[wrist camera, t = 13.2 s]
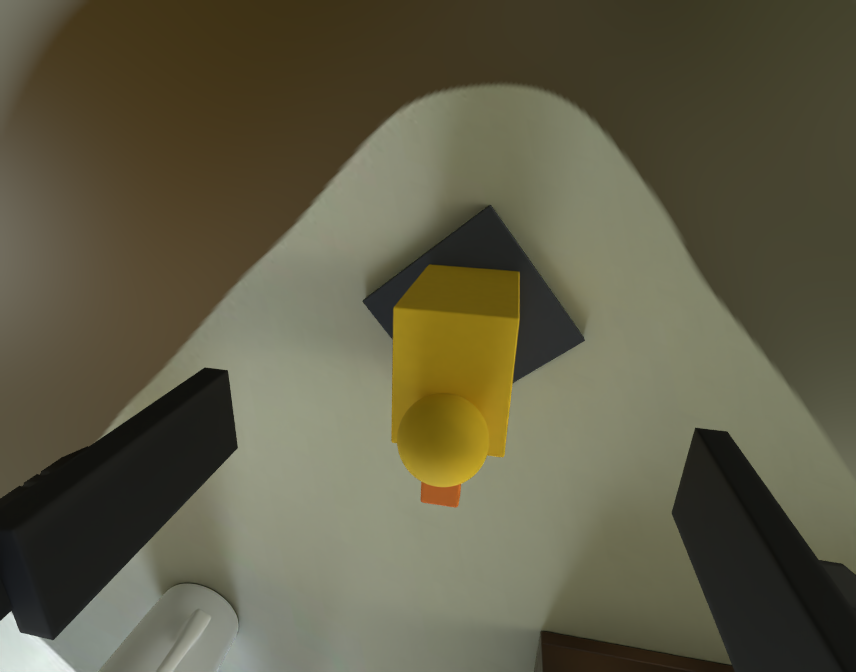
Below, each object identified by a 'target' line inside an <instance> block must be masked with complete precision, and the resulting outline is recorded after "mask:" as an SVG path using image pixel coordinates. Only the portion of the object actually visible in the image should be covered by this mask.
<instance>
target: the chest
mask: <svg viewBox="0 0 856 672" xmlns="http://www.w3.org/2000/svg"><path fill="white" fill-rule="evenodd" d="M534 672H735V670H734V668H733V666H729V665H724V664H718V663H713V662H707V661H702V660H697V659H691V658H686V657H680V656H675V655H670V654H664V653H659V652H653V651H648V650H642V649H637V648H632V647H626V646H621V645H615V644H610V643H605V642H599V641H594V640H588V639H583V638H577V637H572V636H567V635H561V634H556V633H550V632H545V631H541V633H540V639H539V645H538V651H537V656H536V662H535V668H534Z"/></svg>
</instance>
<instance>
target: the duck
mask: <svg viewBox="0 0 856 672" xmlns="http://www.w3.org/2000/svg"><path fill="white" fill-rule="evenodd" d="M519 320H520V273H519V272H518V271H507V270H494V269H481V268H468V267H455V266H442V265H428V266H427V267H426V269H425V270H424V271H423V272H422V273H421V275H420V276H419V277H418V278H417V280H416V281H415V282H414V283H413V284H412V286H411V287H410V288H409V289H408V290H407V292H406V293H405V294H404V295H403V296H402V298H401V299H400V300H399V301H398V303H397V304H396V305H395V306H394V308H393V369H392V442H393V443H397V446H398V451H399V455H400V457H401V460H402V462H403V464H404V465H405V467H406V468H407V470H408V471H409V472H410V473H411V474H412V475H413V476H414V477H415V478H417V479H418V480H420V481H421V502H423V503H429V504H436V505H443V506H449V507H457V506H458V504H459V498H460V490H461V483H464V482H465V481H467V480H469V479H470V478H471V477H473V476H474V475H475V474H476V473H477V472H478V471H479V469H480V468H481V467H482V465H483V463H484V461H485V459H486V456H487V455H488V456H496V457H504V454H505V445H506V436H507V427H508V418H509V409H510V400H511V392H512V383H513V374H514V365H515V356H516V347H517V338H518V329H519Z"/></svg>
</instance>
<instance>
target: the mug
mask: <svg viewBox="0 0 856 672" xmlns="http://www.w3.org/2000/svg"><path fill="white" fill-rule="evenodd" d="M238 629H239V623H238V618H237V615H236V613H235V611H234V609H233V608H232V607H231V605H230V604H229V603H228V602H227V601H226V600H225V599H224V598H223V597H222V596H220V595H219V594H218V593H216V592H214V591H213V590H211V589H209V588H206V587H204V586H201V585H197V584H190V583H185V584H179V585H176V586H173V587H171V588H170V589H169V590H168V591H167V592H166V593H165V594H164V595H163V596H162V597H161V598H160V599H159V601H158V602H157V603H156V604H155V605H154V606H153V607H152V609H151V610H150V611H149V612H148V613H147V614H146V616H145V617H144V618H143V619H142V620H141V621H140V623H139V624H138V625H137V626H136V627H135V628H134V630H133V631H132V632H131V633H130V634H129V636H128V637H127V638H126V639H125V640H124V642H123V643H122V644H121V645H120V646H119V648H118V649H117V650H116V651H115V652H114V654H113V655H112V656H111V657H110V658H109V659H108V661H107V662H106V663H105V664H104V665H103V667H102V668H101V669H100V670H99V671H98V672H217V671H218V669H219V667H220V665H221V663H222V661H223V660H224V658H225V656H226V654H227V652H228V650H229V648H230V647H231V645H232V643H233V641H234V639H235V637H236V635H237V633H238Z"/></svg>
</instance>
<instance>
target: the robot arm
mask: <svg viewBox="0 0 856 672" xmlns="http://www.w3.org/2000/svg"><path fill="white" fill-rule="evenodd" d="M237 448H238V446H237V438H236V431H235V423H234V415H233V407H232V399H231V391H230V384H229V376H228V370H220V369H212V368H203V369H202V370H200V371H199V372H198V373H196V374H195V375H193V376H192V377H190V378H189V379H187V380H186V381H184V382H183V383H181V384H180V385H179V386H177V387H176V388H174V389H173V390H171V391H170V392H168V393H167V394H165V395H164V396H162V397H161V398H160V399H158V400H157V401H155V402H154V403H152V404H151V405H149V406H148V407H146V408H145V409H143V410H142V411H141V412H139V413H138V414H136V415H135V416H133V417H132V418H130V419H129V420H127V421H126V422H124V423H123V424H122V425H120V426H119V427H117V428H116V429H114V430H113V431H111V432H110V433H108V434H107V435H105V436H104V437H103V438H101V439H100V440H98V441H97V442H95V443H94V444H92V445H91V446H89V447H88V446H87V447H85V448H83V449H80V450H78V451H76V452H74V453H71V454H69V455H66V456H64V457H62V458H60V459H59V460H58V461H56V462H54V463H53V464H52V465H50V466H48V467H47V468H46V469H44V470H42V471H41V474H40V475H38V474H36V475H35V476H33V477H32V478H30V479H29V480H27V481H26V482H24V485H23V486H19V487H17V488H15V489H14V490H12V491H11V492H9V493H8V494H7V495H5V496H3V497H2V498H0V621H1V620H2V619H3V618H4V617H5V616H6V615H7V614H8V613H9V612H11V611H12V613H13V615H14V618H15V620H16V623H17V626H18V628H19V631H20V632H21V633H25V634H29V635H34V636H38V637H42V638H47V639H51V640H54V639H55V638H56V637H57V636H58V635H59V634H60V633H61V632H62V631H63V629H64V628H65V627H66V626H67V625H68V624H69V623H70V622H71V621H72V620H73V619H74V618H75V617H76V616H77V615H78V614H79V613H80V612H81V611H82V610H83V609H84V608H85V607H86V606H87V604H88V603H89V602H90V601H91V600H92V599H93V598H94V597H95V596H96V595H97V594H98V593H99V592H100V591H101V590H102V589H103V588H104V587H105V586H106V585H107V584H108V583H109V582H110V581H111V579H112V578H113V577H114V576H115V575H116V574H117V573H118V572H119V571H120V570H121V569H122V568H123V567H124V566H125V565H126V564H127V563H128V562H129V561H130V560H131V559H132V558H133V557H134V556H135V554H136V553H137V552H138V551H139V550H140V549H141V548H142V547H143V546H144V545H145V544H146V543H147V542H148V541H149V540H150V539H151V538H152V537H153V536H154V535H155V534H156V533H157V532H158V531H159V529H160V528H161V527H162V526H163V525H164V524H165V523H166V522H167V521H168V520H169V519H170V518H171V517H172V516H173V515H174V514H175V513H176V512H177V511H178V510H179V509H180V508H181V507H182V506H183V504H184V503H185V502H186V501H187V500H188V499H189V498H190V497H191V496H192V495H193V494H194V493H195V492H196V491H197V490H198V489H199V488H200V487H201V486H202V485H203V484H204V483H205V482H206V481H207V479H208V478H209V477H210V476H211V475H212V474H213V473H214V472H215V471H216V470H217V469H218V468H219V467H220V466H221V465H222V464H223V463H224V462H225V461H226V460H227V459H228V458H229V457H230V456H231V454H232V453H233V452H234V451H235V450H236V449H237ZM672 515H673V518H674V520H675V523H676V525H677V528H678V530H679V533H680V535H681V538H682V540H683V543H684V545H685V548H686V550H687V553H688V555H689V558H690V560H691V563H692V565H693V568H694V570H695V573H696V575H697V578H698V580H699V583H700V585H701V588H702V590H703V593H704V595H705V598H706V600H707V603H708V605H709V608H710V610H711V613H712V615H713V618H714V620H715V623H716V625H717V628H718V630H719V633H720V635H721V638H722V640H723V643H724V645H725V648H726V650H727V653H728V655H729V658H730V660H731V663H732V665H733V668H734V670H735V672H856V575H855V574H854V573H853V572H852V571H850V570H849V569H848V568H847V567H846V566H844V565H843V564H841V563H834V562H828V561H822V560H818V559H817V557H816V556H815V554H814V553H813V552H812V550H811V549H810V547H809V546H808V544H807V543H806V542H805V540H804V539H803V537H802V536H801V535H800V533H799V532H798V530H797V529H796V528H795V526H794V525H793V523H792V522H791V521H790V519H789V518H788V516H787V515H786V513H785V512H784V511H783V509H782V508H781V506H780V505H779V504H778V502H777V501H776V499H775V498H774V497H773V495H772V494H771V492H770V491H769V490H768V488H767V487H766V485H765V484H764V483H763V481H762V480H761V478H760V477H759V475H758V474H757V473H756V471H755V470H754V468H753V467H752V466H751V464H750V463H749V461H748V460H747V459H746V457H745V456H744V454H743V453H742V452H741V450H740V449H739V447H738V446H737V445H736V443H735V442H734V440H733V439H732V437H731V436H730V435H729V433H728V432H726V431H717V430H709V429H701V428H695V431H694V434H693V438H692V441H691V445H690V449H689V452H688V456H687V459H686V463H685V467H684V470H683V474H682V477H681V481H680V485H679V488H678V492H677V495H676V499H675V503H674V506H673V510H672Z"/></svg>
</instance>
